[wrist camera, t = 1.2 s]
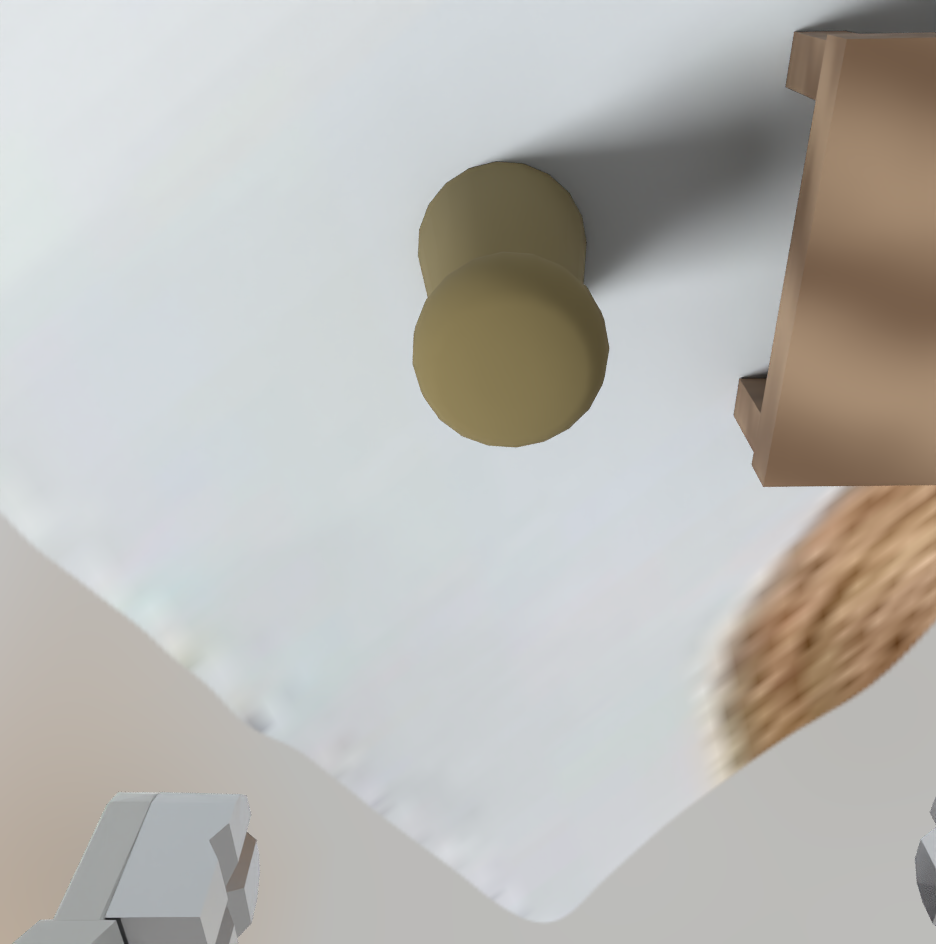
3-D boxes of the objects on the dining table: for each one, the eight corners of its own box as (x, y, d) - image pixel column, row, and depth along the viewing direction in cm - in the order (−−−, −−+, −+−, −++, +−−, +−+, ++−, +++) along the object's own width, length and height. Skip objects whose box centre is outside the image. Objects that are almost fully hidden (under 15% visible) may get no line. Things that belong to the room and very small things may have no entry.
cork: (585, 153, 29) (635, 250, 20) (587, 322, 32) (632, 475, 23) (408, 169, 30) (375, 271, 20) (427, 334, 33) (406, 490, 23)
